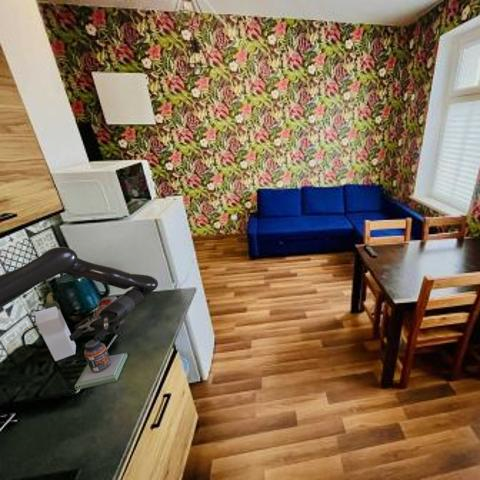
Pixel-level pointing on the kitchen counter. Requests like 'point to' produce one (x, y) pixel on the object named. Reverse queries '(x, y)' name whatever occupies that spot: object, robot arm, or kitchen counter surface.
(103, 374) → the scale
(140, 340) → the kitchen counter surface
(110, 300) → the food item
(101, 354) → the supplement bottle
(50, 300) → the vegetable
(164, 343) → the kitchen counter surface
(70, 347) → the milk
